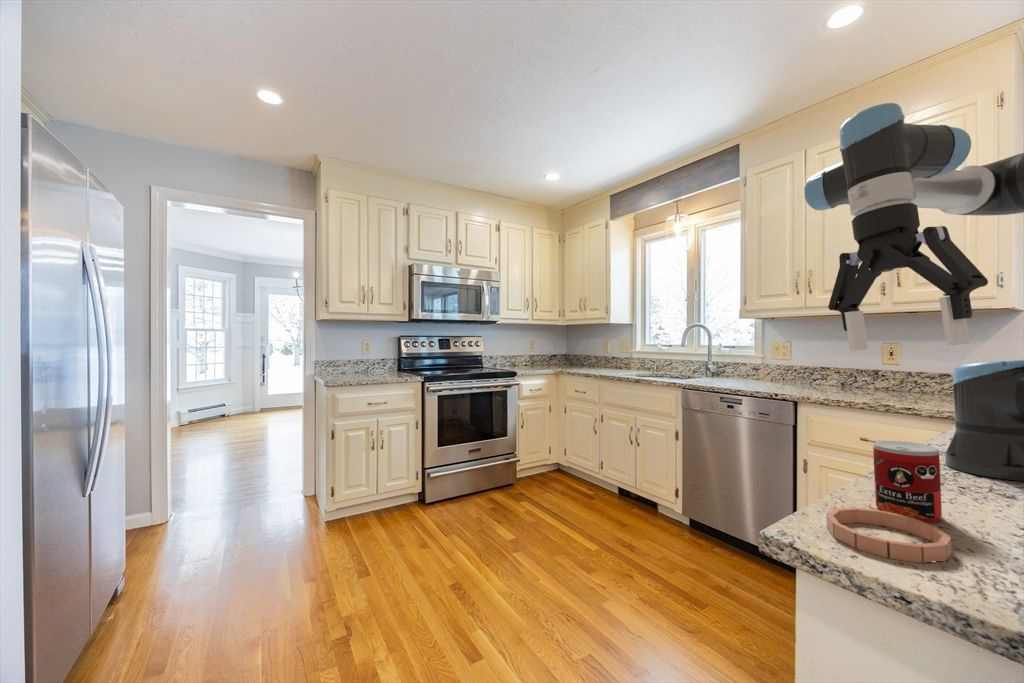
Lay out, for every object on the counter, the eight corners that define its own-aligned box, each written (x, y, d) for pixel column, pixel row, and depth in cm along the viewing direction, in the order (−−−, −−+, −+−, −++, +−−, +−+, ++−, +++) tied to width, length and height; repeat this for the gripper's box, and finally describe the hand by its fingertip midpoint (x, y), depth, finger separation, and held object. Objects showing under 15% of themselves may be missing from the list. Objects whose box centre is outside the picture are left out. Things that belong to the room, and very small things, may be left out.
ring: (844, 514, 67) (843, 501, 67) (957, 542, 56) (957, 527, 56) (815, 536, 59) (814, 522, 59) (940, 573, 49) (939, 556, 49)
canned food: (869, 513, 67) (866, 445, 67) (882, 501, 72) (880, 438, 72) (936, 529, 61) (933, 454, 61) (946, 515, 65) (943, 446, 66)
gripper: (794, 237, 75) (810, 353, 73) (961, 171, 50) (990, 343, 49) (830, 236, 76) (846, 350, 75) (1011, 170, 51) (1040, 338, 50)
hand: (903, 347), depth 62 cm, fingers open, 13 cm apart
